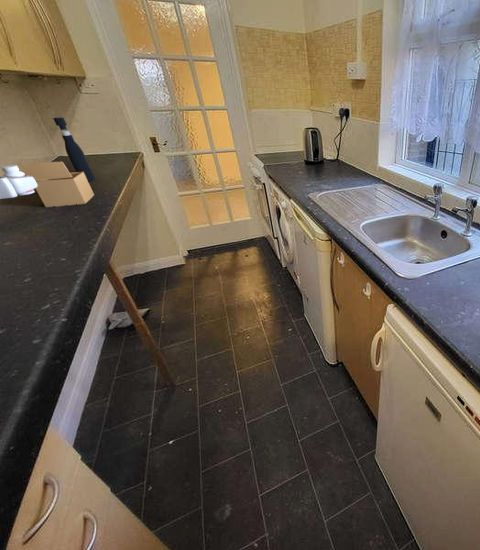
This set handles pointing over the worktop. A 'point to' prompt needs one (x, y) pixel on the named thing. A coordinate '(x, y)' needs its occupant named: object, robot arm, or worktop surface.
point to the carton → (65, 190)
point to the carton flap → (45, 170)
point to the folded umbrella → (74, 151)
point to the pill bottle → (15, 171)
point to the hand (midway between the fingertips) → (18, 177)
